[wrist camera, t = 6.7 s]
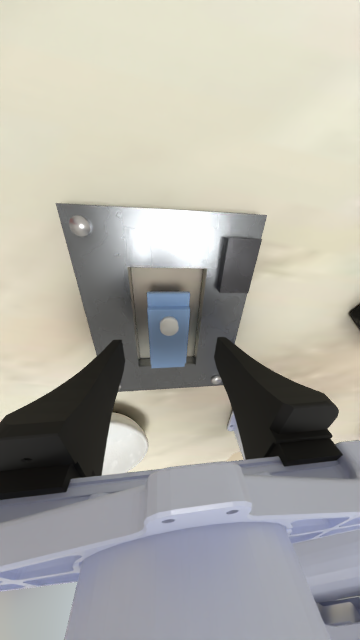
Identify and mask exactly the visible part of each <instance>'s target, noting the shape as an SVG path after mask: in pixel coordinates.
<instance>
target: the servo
mask: <svg viewBox="0 0 360 640" xmlns="http://www.w3.org/2000/svg"><path fill="white" fill-rule="evenodd" d="M189 300H190V292H147V302H148V309H147V313H148V329H149V344H150V360H151V367H152V368H168V367H185V363H186V357H187V345H188V332H189V319H190V307H189Z"/></svg>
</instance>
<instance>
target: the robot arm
mask: <svg viewBox="0 0 360 640" xmlns="http://www.w3.org/2000/svg"><path fill="white" fill-rule="evenodd" d="M214 360H215V364H216V367H217V370H218V373H219V375H220V378H221V380H222V382H223V385H224V387H225V389H226V392H227V394H228V397H229V400H230V403H231V406H232V409H233V411H232V414H231V417H230V420H229V423H228V426H227V430H228V431H234V433H235V436H236V439H237V442H238V445H239V447H240V450H241V453H242V456H243V459H244V460H239V461H231V462H213V463H204V464H194V465H185V466H176V467H168V468H164V469H157V470H148V471H139V472H130V473H121V474H112V475H102V470H103V463H104V456H105V450H106V444H107V438H108V432H109V427H110V421H111V416H112V411H113V406H114V403H115V399H116V396H117V392H118V389H119V386H120V383H121V379H122V376H123V372H124V366H125V356H124V350H123V343H122V340H113V341H112V342H111V343H110V344H109V345H108V346H107V347H106V348H105V349H104V350H103V351H102V352H101V353H100V354H99V355H98V356H97V357H96V358H95V359H94V360H93V361H91V362H90V363H89V364H88V365H87V366H86V367H85V368H84V369H82V370H81V371H80V372H79V373H77V374H76V375H75V376H73V377H72V378H71V379H69V380H68V381H66V382H65V383H63V384H62V385H60V386H59V387H57V388H56V389H54V390H53V391H51V392H49V393H48V394H46V395H44V396H43V397H41V398H39V399H37V400H36V401H34V402H32V403H30V404H28V405H26V406H24V407H22V408H20V409H18V410H16V411H14V412H12V413H10V414H8V415H6V416H5V417H4V418H3V420H2V421H1V422H0V592H1V591H8V590H16V589H24V588H32V587H40V586H48V585H56V584H63V583H72V582H77V587H76V591H75V595H74V599H73V604H72V608H71V612H70V617H69V621H68V626H67V630H66V634H65V639H64V640H360V441H359V440H355V441H345V442H340V443H337V444H334V443H333V441H332V440H331V439H330V438H332V434H331V433H330V432H329V431H328V427H329V426H330V425H331V424H332V423H333V422H334V420H335V419H336V418H337V416H338V413H339V410H338V408H337V407H336V405H335V404H334V403H333V402H332V401H331V400H330V399H329V398H328V397H327V396H326V395H325V394H324V393H321V392H319V391H316V390H313V389H311V388H308V387H305V386H303V385H300V384H298V383H296V382H294V381H291V380H289V379H287V378H285V377H283V376H281V375H279V374H277V373H275V372H274V371H272V370H270V369H268V368H267V367H265V366H263V365H262V364H260V363H259V362H257V361H256V360H254V359H253V358H251V357H250V356H249V355H247V354H246V353H245V352H243V351H242V350H241V349H240V348H238V347H237V346H236V345H235V344H234V343H232V342H231V341H230V340H229V339H227V338H226V337H217V343H216V348H215V354H214Z"/></svg>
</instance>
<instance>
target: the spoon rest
mask: <svg viewBox="0 0 360 640" xmlns="http://www.w3.org/2000/svg"><path fill="white" fill-rule="evenodd" d="M147 451H148V439H147V437H146V435H145V433H144V431H143V430H142V428H141V427H140V426H139V425H138V424H137V423H136V422H135V421H134V420H132V419H131V418H129V417H127V416H125V415H122V414H119V413H113V412H112V416H111V421H110V427H109V432H108V438H107V444H106V450H105V456H104V463H103V470H102V475H112V474H121V473H127V472H128V471H129V470H131V469H132V468H133V467H135V466H136V465H137V464H138V463H139V462H140V461H141V460H142V459H143V458H144V456H145V455H146V453H147Z"/></svg>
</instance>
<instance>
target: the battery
mask: <svg viewBox="0 0 360 640" xmlns="http://www.w3.org/2000/svg"><path fill="white" fill-rule="evenodd" d="M351 317H352V318H353V320H354V321H355V322H356V324H357V325H358V327H359V328H360V306H358V307H357V308H356V309H354V310H353V311H352V312H351Z"/></svg>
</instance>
